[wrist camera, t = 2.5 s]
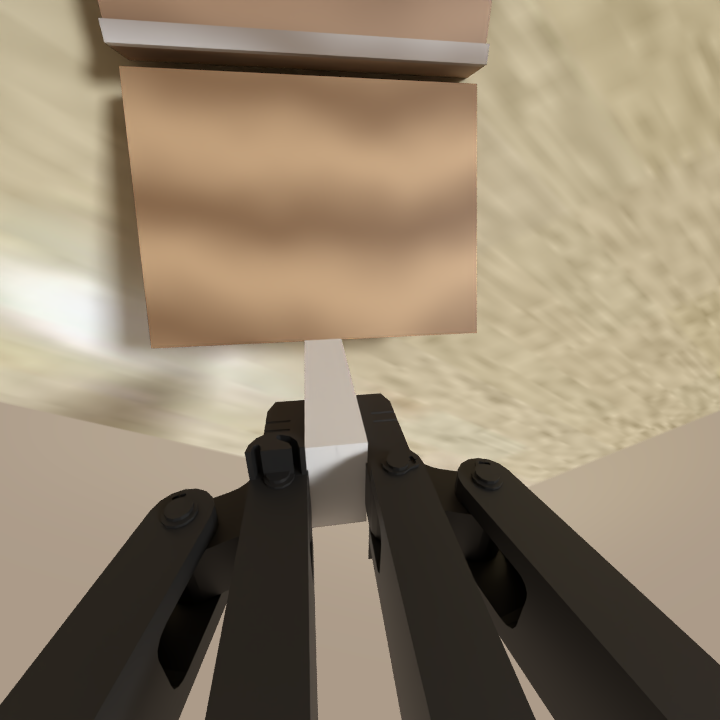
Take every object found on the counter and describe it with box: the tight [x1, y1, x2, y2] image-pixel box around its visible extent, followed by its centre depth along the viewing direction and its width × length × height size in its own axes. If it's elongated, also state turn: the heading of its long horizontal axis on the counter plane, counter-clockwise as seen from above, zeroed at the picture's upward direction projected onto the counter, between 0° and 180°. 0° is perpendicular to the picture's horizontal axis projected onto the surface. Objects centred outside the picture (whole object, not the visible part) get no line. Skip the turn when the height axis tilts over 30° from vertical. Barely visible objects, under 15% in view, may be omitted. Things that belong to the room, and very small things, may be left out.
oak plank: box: [119, 66, 477, 348], centre depth 19 cm, size 13×18×2 cm
